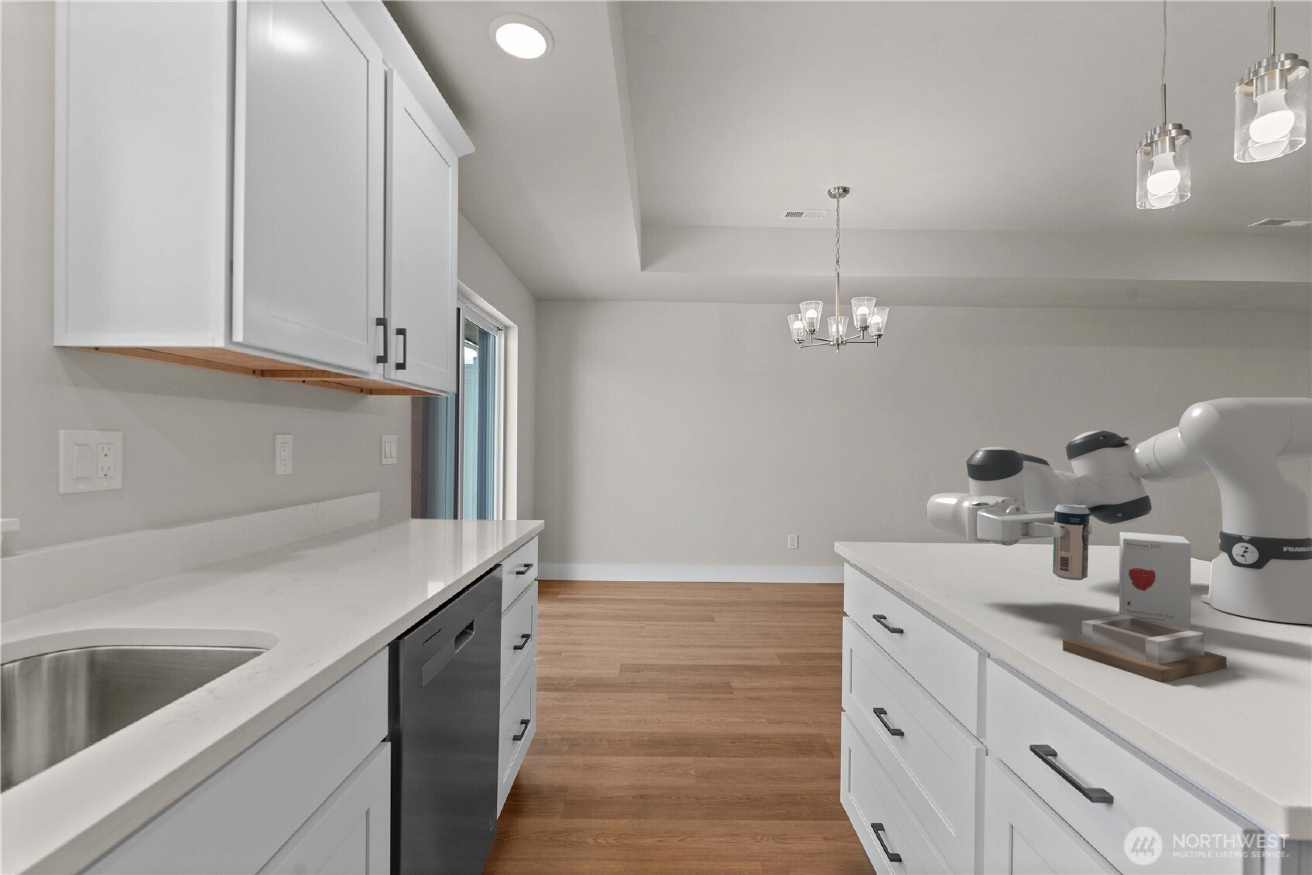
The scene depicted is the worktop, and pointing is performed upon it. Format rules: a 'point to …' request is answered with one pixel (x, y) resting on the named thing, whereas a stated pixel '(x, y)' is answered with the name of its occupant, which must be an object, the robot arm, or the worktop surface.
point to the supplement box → (1155, 578)
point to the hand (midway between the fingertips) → (1076, 530)
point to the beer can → (1071, 542)
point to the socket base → (1145, 647)
